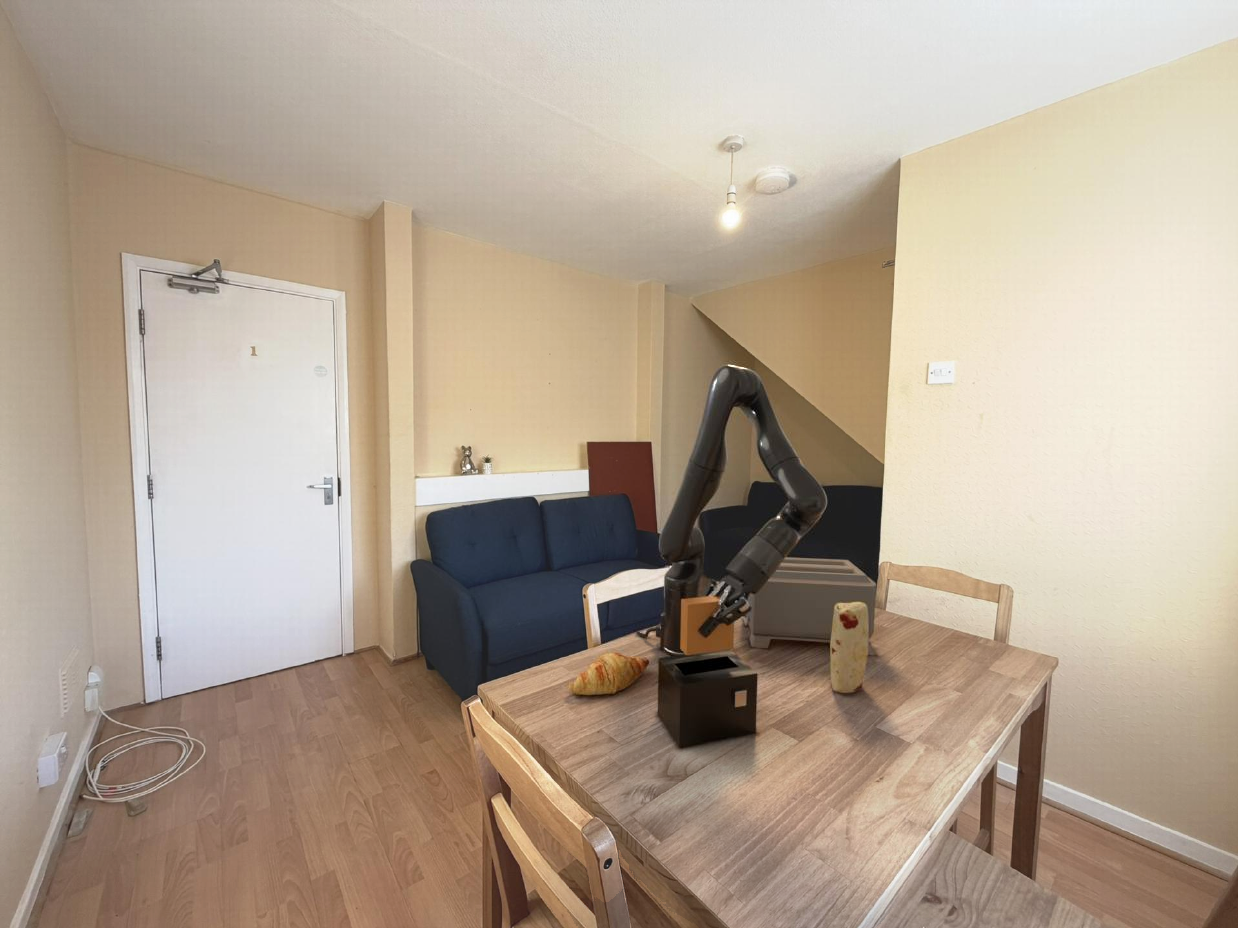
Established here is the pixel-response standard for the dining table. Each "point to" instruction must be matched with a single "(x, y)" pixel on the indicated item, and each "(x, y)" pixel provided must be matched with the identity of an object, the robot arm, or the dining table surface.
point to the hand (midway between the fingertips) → (697, 630)
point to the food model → (849, 646)
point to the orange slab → (694, 618)
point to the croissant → (609, 674)
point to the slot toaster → (706, 697)
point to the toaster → (807, 600)
